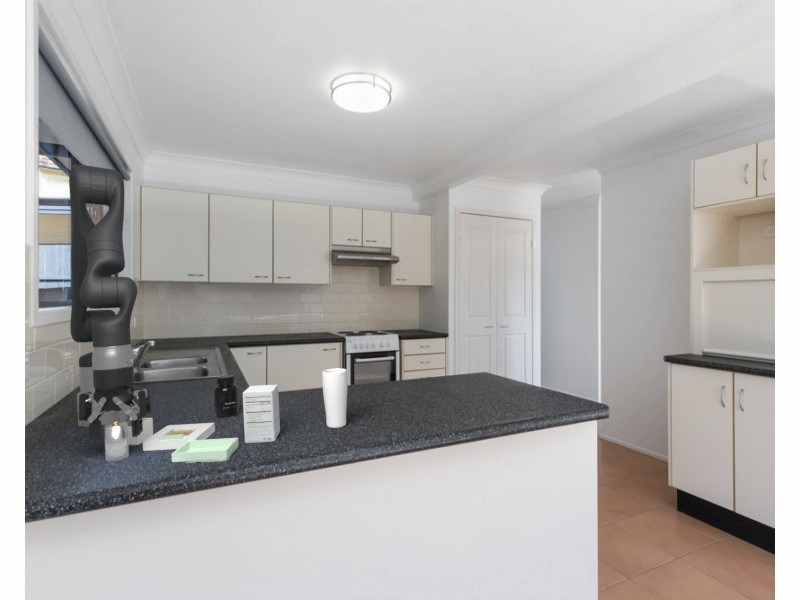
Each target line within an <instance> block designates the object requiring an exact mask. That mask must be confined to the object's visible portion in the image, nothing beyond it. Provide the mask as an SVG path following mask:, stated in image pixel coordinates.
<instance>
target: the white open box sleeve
mask: <svg viewBox="0 0 800 600" xmlns="http://www.w3.org/2000/svg"><path fill="white" fill-rule="evenodd" d="M153 418H154V417H143V418H142V424H143V425H142V426H143V431H142V432H141V433H140V435H139V436H137V437H132V426H128V442H129V446H137V445H138V446H139V445H141V444H143V441H145V440H146V439H148V438H149V437H151V436H152V435H154V422H153Z"/></svg>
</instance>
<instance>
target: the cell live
mask: <svg viewBox="0 0 800 600" xmlns="http://www.w3.org/2000/svg"><path fill="white" fill-rule="evenodd" d="M103 432H104V433H103V434H104V435H103V436H104V455H105V456H104V457H105V461H106V462H115V461H121V460H123V459H126V458H128V457H129V456H130V447H129V446H130V445H129V442H128V422H127V421H120V420H117V421H113V422H112V423H108V424H104V425H103Z"/></svg>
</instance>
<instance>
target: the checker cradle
mask: <svg viewBox="0 0 800 600" xmlns="http://www.w3.org/2000/svg"><path fill="white" fill-rule="evenodd" d="M181 430H195V431H193V432H192V433H191V434H190V435H187V436H184V434H177V435H169V434H171V433H172V432H174V431H181ZM214 432H216V425H215V422H203V423H187V424H186V423H184V424H183V423H182V424H168V425H166V426H165V427H163V428H162V429H160V430H159V431H156V432H155V433H153V435H152V436H151V437H149V438H148V439H146V440H145V441H143V442H142V451H144V452H149V451H163V450H177V449H178V448H179V447H180V446H182V445H183V444H184V443H185V442H187V441H188V440H206V439H208V438H209V437H211V435H212V434H213V433H214Z"/></svg>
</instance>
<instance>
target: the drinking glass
mask: <svg viewBox="0 0 800 600" xmlns="http://www.w3.org/2000/svg"><path fill="white" fill-rule="evenodd" d="M321 385H322V386H321V387H322V395H323V396H322V397H323V402H324V403H323V404H324V411H325V419H326V420H325V421H326V423H325V425H326V426H327V427H328V428H330V429H339V428H340V429H341V428H344V426H346V425H347V405H348V403H347V402H348V385H349V383H348V372H347V368H339V367H338V368H334V367H333V368H327V369H324V370H322V372H321Z"/></svg>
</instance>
